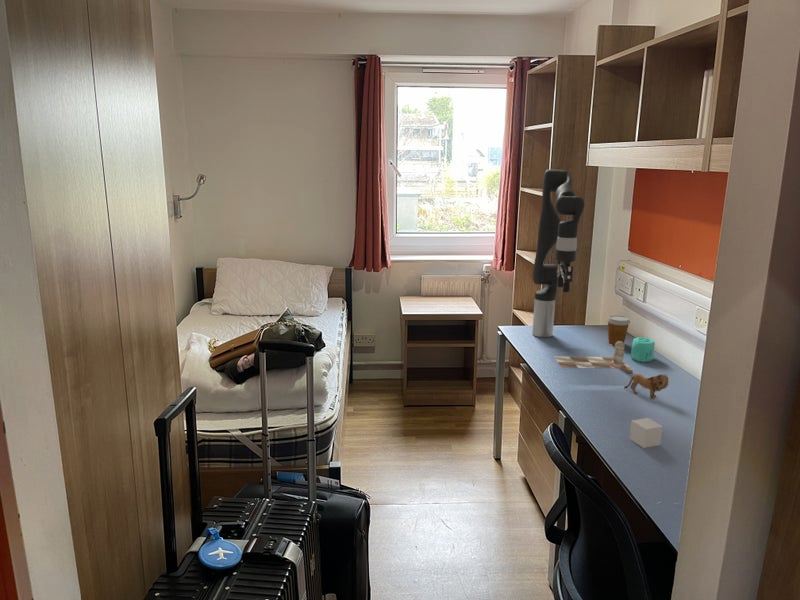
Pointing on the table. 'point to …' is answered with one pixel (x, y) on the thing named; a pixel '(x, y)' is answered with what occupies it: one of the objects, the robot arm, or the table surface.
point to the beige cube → (646, 432)
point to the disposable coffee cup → (617, 328)
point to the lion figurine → (649, 383)
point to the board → (584, 363)
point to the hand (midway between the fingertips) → (562, 289)
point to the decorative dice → (642, 349)
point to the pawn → (618, 355)
